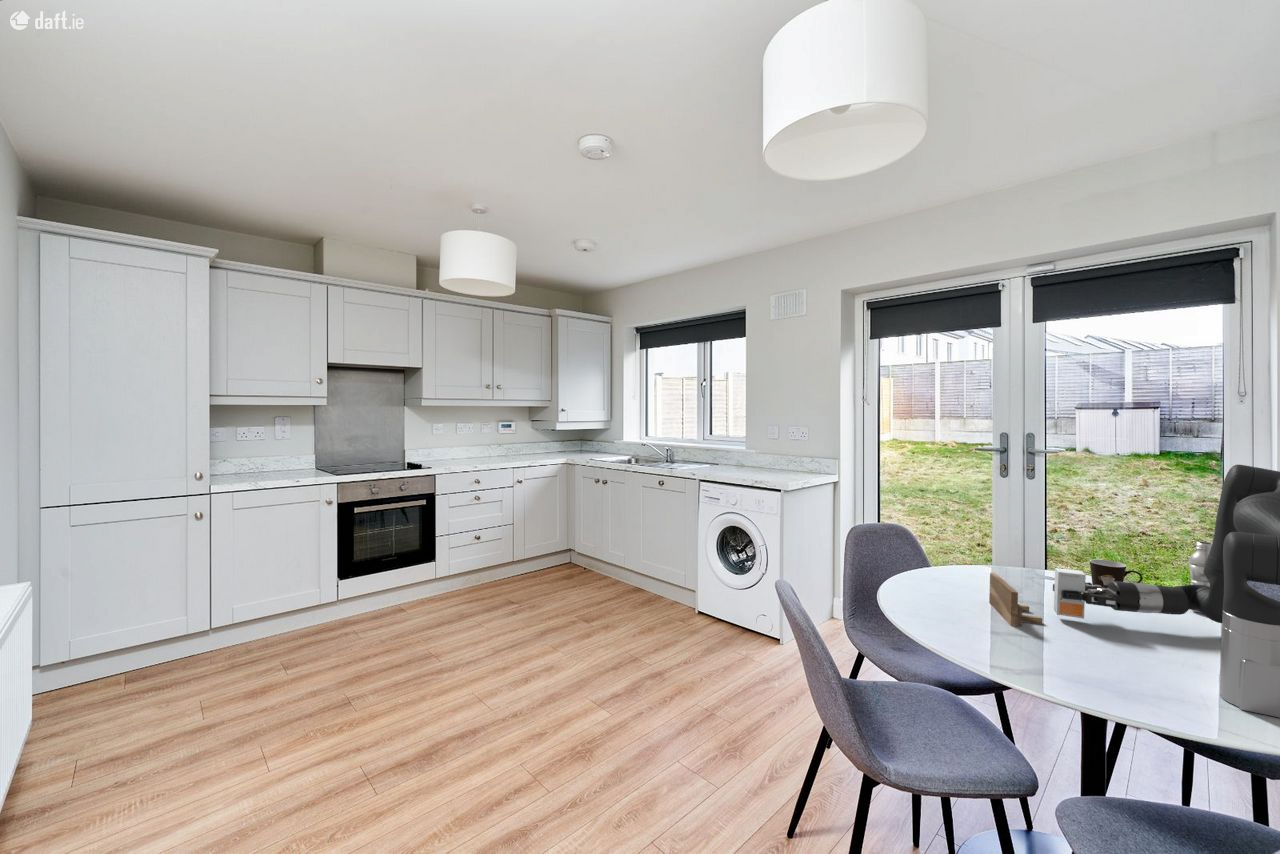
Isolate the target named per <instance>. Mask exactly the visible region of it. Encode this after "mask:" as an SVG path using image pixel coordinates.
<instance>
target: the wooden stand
mask: <svg viewBox="0 0 1280 854" xmlns="http://www.w3.org/2000/svg"><path fill="white" fill-rule="evenodd" d="M988 594H989V599H988V600H989V601H988V602H989V604H990V605H991V606H992V607H993V608H994V610H996V611H997V613H998V614H999V615H1000V616H1001V617H1002V618H1003V619H1004V620H1005V621H1006V623H1008V625H1010V626H1011V627H1023V626H1022V623H1030V624H1040V625H1043V617H1042V616H1037V615H1036V616H1035V615H1029V614H1027V615H1026V614H1023V612H1026V613H1030V605H1028V604H1027V605H1026V604H1019V592H1018V591H1017V590H1016V589H1014V588H1013V586H1011V585H1010V584H1009V583H1008V582H1006V581H1005V580H1004V579H1003V578H1002V577H1001V576H1000V575H998V574H997V573H996V572H989V593H988Z"/></svg>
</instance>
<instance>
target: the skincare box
mask: <svg viewBox="0 0 1280 854" xmlns="http://www.w3.org/2000/svg"><path fill="white" fill-rule="evenodd" d="M1086 578H1087V575H1086V574H1085V573H1084V572H1083V571H1082V570H1076V569H1066V568H1057V567H1056V568H1054V584H1055V587H1054V591H1053V593H1054V594H1053V601H1054V602H1053V611H1054V613H1055V614H1056V615H1058V616H1064V617H1070V618H1077V619H1081V620H1082V619H1083V620H1084V619H1085V607H1086V606H1085V604H1086V602H1082V601H1080V599H1079V600H1073V599H1064V598H1062V597H1061V591H1062V590H1072V591H1079V593H1080V591H1085V583H1086V580H1087V579H1086Z"/></svg>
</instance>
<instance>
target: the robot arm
mask: <svg viewBox="0 0 1280 854" xmlns="http://www.w3.org/2000/svg"><path fill="white" fill-rule="evenodd" d="M1219 497H1220V498H1219V503H1218V508H1217V513H1216V519H1215V523H1214V524H1215V525H1214V533H1213V537H1212V542H1211V543H1212V546H1211V549H1210V552H1209V555H1208V558H1207V561H1206V565H1205V567H1204V575H1205V576H1206V578H1207V579H1208V580H1209V582H1210V586H1205V585H1191V584H1189V585H1188V584H1186V585H1185V584H1184V585H1177V586H1169V585H1168V586H1167V585H1156V584H1155V585H1154V584H1148V583H1141V582H1140V583H1136V582H1132V581H1131V582H1129V581H1123V582H1118V581H1111V582H1109V583H1108V585H1107V587H1105V588H1103V587H1102V586H1099V585H1092V582H1085V591H1080V593H1079V591H1072V590H1062V591H1061V597H1062V598H1064V599H1073V600H1079V599H1080V601H1082V602H1085V604H1086V605H1094V606H1101V607H1108V608H1111V609H1113V610H1114V611H1118V612H1131V613H1139V614H1163V615H1175V616H1176V615H1184V614H1186V613H1187V612H1188V611H1189V610H1191V611H1193V610H1197V611H1199V612H1201V613H1200V614H1202V615H1204V617H1206V618H1207V619H1209V620H1211V621H1213V622H1215V623H1218V624H1221V642H1220V643H1221V645H1220V646H1221V647H1220V669H1219V670H1220V671H1219V674H1220V675H1219V696H1220V698H1222V700H1224V701H1226V702H1227V703H1229V704H1232V705H1234V706H1236V707H1238V708H1239V709H1240V710H1243V711H1247V712H1251V713H1257V714H1261V715H1265V716H1271V717H1277V718H1280V601H1279V600H1277V599H1274V598H1272V597H1270V596H1267V595H1264V594H1262V593H1261V592H1259V591H1257V590H1256V589H1254V588H1252V587H1251V586H1250V585H1249V584H1248V582H1255V583H1261V584H1267V585H1272V586H1273V585H1275V586H1276V585H1277V586H1280V471H1278V470H1275V469H1273V470H1272V469H1268V468H1262V467H1256V466H1252V465H1251V466H1250V465H1246V464H1234V465H1232V466H1231V467H1230V468H1229V470H1228V472H1227V473H1226V475H1225V477H1224V480H1223V484H1222V487H1221V492H1220V496H1219ZM1054 587H1055V583H1053V584H1052V591H1053V592H1054ZM1199 612H1198V613H1199Z"/></svg>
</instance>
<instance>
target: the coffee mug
mask: <svg viewBox="0 0 1280 854" xmlns="http://www.w3.org/2000/svg"><path fill="white" fill-rule="evenodd" d="M1089 567H1090V575H1091V583H1092V585H1099V586H1102V587H1103V588H1105V587H1107V585H1108V583H1109V582H1111V581H1118V582H1125V581H1124V580H1125V577H1126V576H1127V575H1128V574H1131V573H1135V574H1137V575H1138V576H1139V580H1138V581H1136V582H1135V583H1141V582H1142V581H1143V575H1142V573H1140V572H1139V571H1137V570H1126V569H1127V565H1126V564H1125V563H1122V562H1118V561H1115V560H1109V559H1108V560H1107V559H1100V558H1099V559H1095V558H1092V559H1089Z"/></svg>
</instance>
